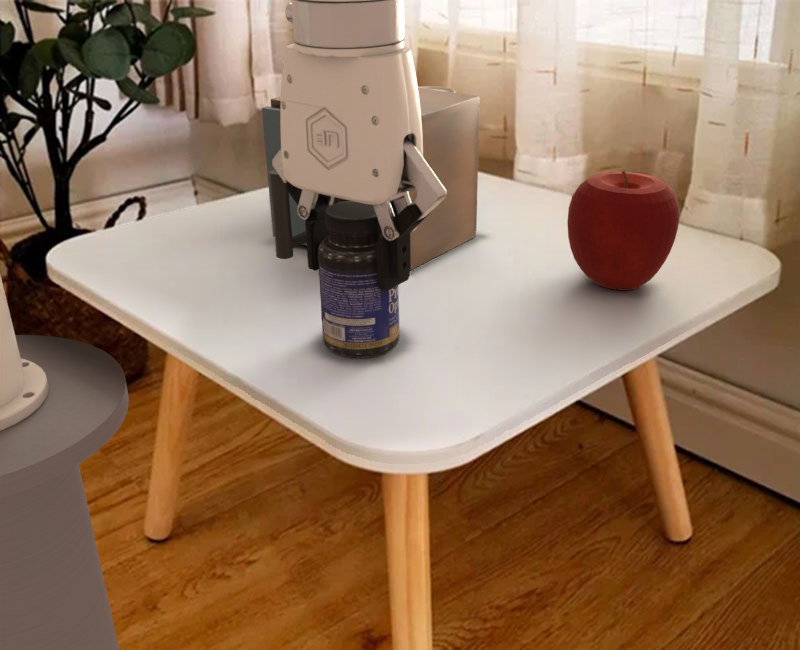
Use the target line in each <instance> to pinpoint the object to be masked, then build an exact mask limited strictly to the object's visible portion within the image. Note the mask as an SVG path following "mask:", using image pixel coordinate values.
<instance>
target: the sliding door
mask: <svg viewBox="0 0 800 650" xmlns="http://www.w3.org/2000/svg"><path fill="white" fill-rule="evenodd" d="M261 114H262V115H261V116H262V123H263V124H262V126H263V137H264V138H263V139H264V149H265V158H266V161H265V162H266V173H267V184H268V196H269V206H270V207H269V208H270V219H271V220H270V221H271V230H272V231H271V232H272V237H273V238H274V246H275V255H276V258H277V259H279V260H288V259H292V258H293V257H294V249H295V248H297V247H300V246H306V247H307V241H306V226H305V221H306V219H305V220H304V219H302V218H300V217H299V215H298V212H297V207H298V205H297V203H296V202H295V201H294V199H293V198H292V196H291V195H290V194H289V192H288V190H287V188H286V183H284V182H283V180H282V179H281V177H280V176H279V174H278V173H277V172H276V170H275V169H274V167H273V165H272V160H273V158H274V157H275V156H276V154H277V153H278V152H279V150H280V149H281V127H280V108H274V107H271V106H264V107H261ZM333 204H336V203H335V198H334V202H333Z"/></svg>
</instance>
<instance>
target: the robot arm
mask: <svg viewBox="0 0 800 650" xmlns="http://www.w3.org/2000/svg"><path fill="white" fill-rule="evenodd" d="M284 12H285V18H286V20H287V21H288V22H289V23H292V31H293V32H292V33H293V43H290V44H288V45H286V46H285V51H284V57H283V64H282V74H281V85H280V97H281V107H280V127H281V149H280V150H279V152H278V153H277V154H276V156H275V157H274V158H273V160H272V165H273V167H274V169H275V170H276V172H277V173H278V174H279V176H280V177H281V179H282V180H283V182H284V183H286V188H287V190H288V192H289V194H290V195H291V196H292V198H293V199H294V201H295V202H296V203H297V205H298V207H297V212H298V215H299V217H300V218H302V219H304V220H305V219H306V221H305V226H306V241H307V246H306V256H307V267H308V269H309V270H310V271H314V272H317V271H319V263H318V248H319V245H320V244H321V242H322V241H323V240H324V239H325V238H326V237H327V236H329V231H328V229H327V227H326V225H325V210H326V208H327V207H329V206H331V205H333V202H334V198H335V197H336V198H341V199H345V200H350V201H354V202H359V203H364V204H370V205H373V207H374V210H375V213H376V216H377V219H378V222H379V225H380V228H381V231H382V233H383V237H381V238H379V239H377V242H376V258H377V286H378V287H379V289H380V290H384V291H388V290H390V289H392V288H393V287H395V286H397V285H398V286H400V285H401V284H403V283H406V281H409V279H410V277H411V276H410V275H411V270H410V269H411V247H410V233H411V232H412V231H414V230H416V229H417V227H418V225H419V224H420V223H421V222H422V221H423V220H424V219H425V218H426V217H427V216H428V215H429V214H430V212H431V211H432V210H433V209H434V208H435V207H437V206H438V205H439V204H440V203H441V202H442V201H443V200H444V199H445V197H446V195H447V192H446V189H445V188H444V186H443V185H442V183H441V182H440V181H439V179H438V178H437V176H436V175H435V174H434V172H433V171H432V169H431V168H430V167H429V165H428V164H427V162H426V161H425V160H424V158H423V137H422V122H421V110H420V100H419V92H418V87H419V85H418V78H417V74H416V73H417V72H416V67H415V62H414V58H413V54H412V48H410V47H407V46H405V0H291V1H290V2H289V3H288V4H287V5H286V7H285V11H284ZM415 189H416V192H417V195H416V198H415V199H414V200H413V202H412V203H411V200H410V197H409V193H408V191H412V190H415ZM391 201H393V203H394V206H395V209H396V212H397V216H396V217H395V215H394V212H393V209H392V206H391V203H390V202H391ZM3 283H4V282H3V280H2V275H1V274H0V431H2V430H4V429H7V428H9V427H11V426H13V425H15V424H17V423H19V422H20V421H22V420H24V419H25V418H27V417H28V416H30V415H31V414H32V413H33V412H35V411H36V410H37V409H38V408H39V407H40V406H41V404H42V403H43V402H44V401H45V399H46V397H47V395H48V388H49V385H48V382H47V378H46V374H45V372H44V371H43V370H42V368H41V367H39V366H38V365H36V364H35V363H33V362H30V361H28V360H25V359H22V358H20V354H19V349H18V345H17V341H16V337H15V335H16V333H15V330H14V329H15V328H14V325H13V321H12V317H11V312H10V308H9V304H8V299H7V295H6V292H5V288H4V284H3Z"/></svg>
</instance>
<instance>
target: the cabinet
mask: <svg viewBox="0 0 800 650" xmlns="http://www.w3.org/2000/svg"><path fill="white" fill-rule="evenodd" d="M418 92H419V100H420V110H421V122H422V137H423V158H424V160H425V161H426V162H427V164H428V165H429V167H430V168H431V169H432V171H433V172H434V174H435V175H436V176H437V178H438V179H439V181H440V182H441V183H442V185H443V186H444V188H445V189H446V192H447V195H446V197H445V199H444V200H443V201H442V202H441V203H440V204H439V205H438V206H437V207H435V208H434V209H433V210H432V211H431V212H430V214H429V215H428V216H427V217H426V218H425V219H424V220H423V221H422V222H421V223H420V224H419V225H418V227H417V229H416V230H414V231H412V232H411V233H410V247H411V269H410V271H412V270H414V269H416V268H417V267H420V266H422V265H423V264H426V263H428V262H429V261H432V260H433V259H435V258H437V257H439V256H441V255H443V254H445V253H447V252H449V251H451V250H453V249H454V248H457V247H458V246H460V245H463V244H464V243H466V242H468V241H470V240H472V239H474V238H476V237H477V221H478V220H477V219H478V183H479V179H478V178H479V149H480V147H479V146H480V145H479V143H480V111H481V110H480V109H481V107H480V106H481V103H480V102H481V97H480V95H474V94H466V93H459V92H455V93H453V92H446V91H439V90H432V89H424V88H418ZM270 107H274V108H280V107H281V96H277V97H273V98H270ZM408 193H409V197H410V200H411V203H412V202H413V200H414V199H415V198H416V195H417V192H416V189H415V190H412V191H408ZM344 201H350V200H345V199H341V198H336V197H335V203H340V202H344ZM390 203H391V206H392V209H393V212H394V215H395V217H396V216H397V212H396V209H395V206H394V203H393V201H391V202H390Z"/></svg>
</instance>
